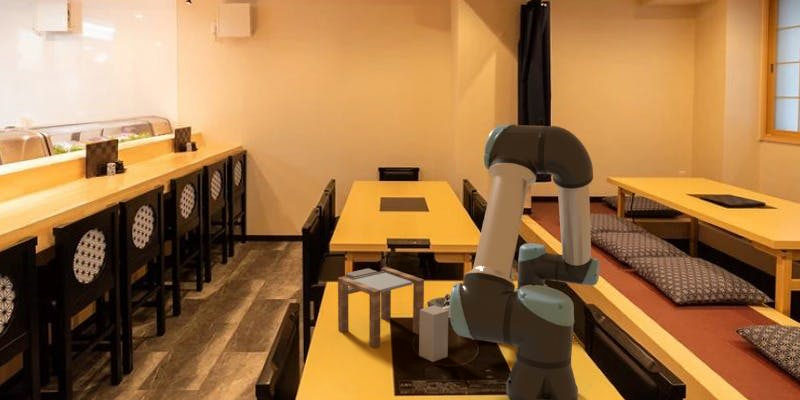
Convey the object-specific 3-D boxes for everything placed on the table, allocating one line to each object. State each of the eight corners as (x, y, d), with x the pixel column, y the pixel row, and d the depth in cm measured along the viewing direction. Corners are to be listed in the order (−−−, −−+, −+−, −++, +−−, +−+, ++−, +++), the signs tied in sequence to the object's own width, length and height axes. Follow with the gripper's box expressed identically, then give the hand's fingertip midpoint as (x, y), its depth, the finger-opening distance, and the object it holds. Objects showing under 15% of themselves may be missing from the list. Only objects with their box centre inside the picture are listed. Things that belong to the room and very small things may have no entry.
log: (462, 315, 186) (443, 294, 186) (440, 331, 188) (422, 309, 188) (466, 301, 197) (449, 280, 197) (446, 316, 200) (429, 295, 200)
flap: (412, 286, 169) (412, 280, 169) (377, 294, 162) (377, 288, 161) (373, 272, 182) (373, 267, 182) (339, 280, 174) (339, 274, 174)
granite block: (447, 356, 156) (448, 310, 154) (432, 361, 153) (433, 314, 151) (433, 350, 160) (434, 305, 158) (419, 355, 157) (419, 309, 155)
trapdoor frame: (423, 332, 172) (424, 279, 169) (374, 348, 161) (374, 292, 158) (386, 316, 184) (386, 267, 181) (338, 330, 173) (337, 277, 170)
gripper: (544, 331, 165) (489, 352, 151) (474, 306, 184) (420, 322, 170) (545, 304, 164) (490, 322, 150) (475, 281, 182) (420, 296, 169)
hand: (453, 322), depth 160 cm, fingers open, 13 cm apart
